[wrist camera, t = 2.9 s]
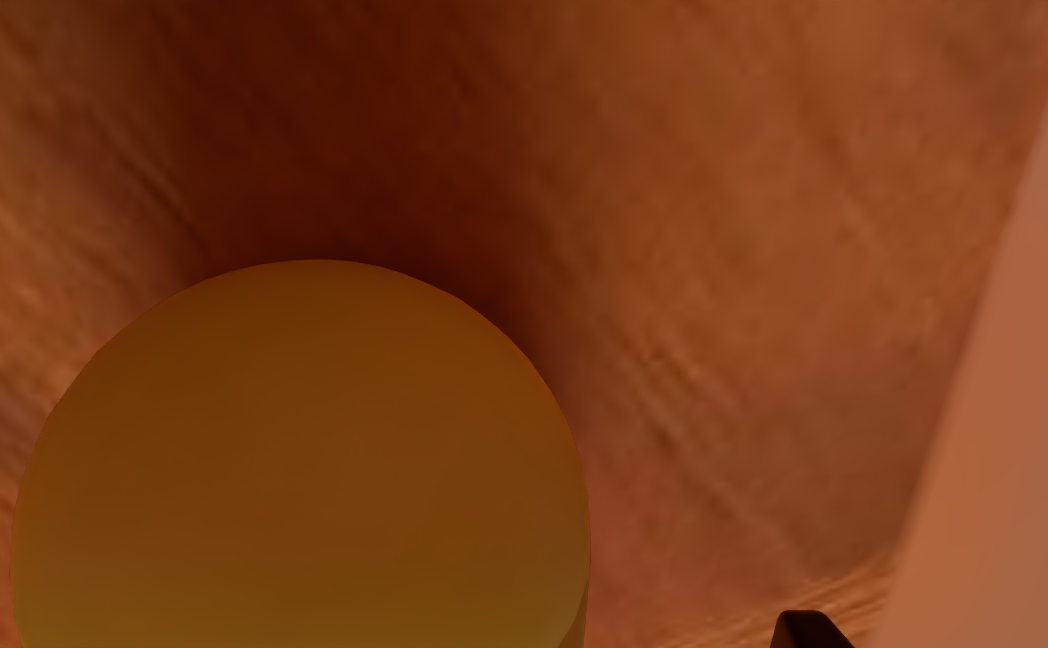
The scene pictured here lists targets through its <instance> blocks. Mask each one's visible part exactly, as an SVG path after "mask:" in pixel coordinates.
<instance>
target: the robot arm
mask: <svg viewBox="0 0 1048 648" xmlns="http://www.w3.org/2000/svg"><path fill="white" fill-rule="evenodd" d="M770 648H854V646H853V645H852V644H851V643H850V642H849V641H848V639H847V638H846V637H845V636H844V635H843V634H842V633H841V631H840V630H839V629H838V628H837V627H836V626H835V625H834V623H833V622H832V621H831V620H830V619H829V618H828V617H827V616H826V615H825V614H823V613H822V612H820V611H815V610H786V611H783V612H782V613H781V614H780V615H779V617H778V619H777V622H776V626H775V630H774V634H773V638H772V642H771V646H770Z"/></svg>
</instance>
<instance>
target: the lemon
mask: <svg viewBox="0 0 1048 648" xmlns="http://www.w3.org/2000/svg"><path fill="white" fill-rule="evenodd" d="M590 563H591V531H590V514H589V496H588V491H587V487H586V482H585V478H584V474H583V469H582V465H581V461H580V457H579V454H578V451H577V448H576V445H575V442H574V439H573V437H572V434H571V431H570V428H569V425H568V422H567V420H566V418H565V416H564V414H563V413H562V411H561V409H560V407H559V405H558V403H557V401H556V400H555V398H554V396H553V394H552V392H551V391H550V389H549V388H548V386H547V385H546V383H545V382H544V380H543V379H542V377H541V376H540V375H539V373H538V372H537V370H536V369H535V367H534V366H533V364H532V363H531V361H530V360H529V359H528V358H527V357H526V356H525V355H524V353H523V352H522V351H521V350H520V349H519V348H518V347H517V346H516V345H515V344H514V343H513V341H512V340H511V339H510V338H509V337H508V336H506V335H505V334H504V333H503V332H502V331H500V330H499V329H498V328H497V327H496V326H494V325H493V324H492V323H491V322H490V321H489V320H487V319H486V318H485V317H484V316H483V315H481V314H480V313H479V312H477V311H476V310H474V309H473V308H472V307H470V306H469V305H467V304H466V303H465V302H463V301H462V300H460V299H459V298H457V297H455V296H453V295H451V294H449V293H447V292H445V291H443V290H440V289H438V288H436V287H434V286H432V285H430V284H427V283H425V282H422V281H420V280H418V279H415V278H413V277H410V276H408V275H405V274H403V273H400V272H396V271H393V270H390V269H386V268H383V267H380V266H376V265H370V264H364V263H358V262H352V261H340V260H323V259H317V260H291V261H283V262H276V263H268V264H261V265H256V266H252V267H248V268H243V269H239V270H235V271H231V272H227V273H224V274H221V275H219V276H216V277H213V278H210V279H207V280H204V281H201V282H199V283H197V284H195V285H192V286H190V287H188V288H186V289H184V290H182V291H180V292H178V293H175V294H173V295H172V296H170V297H169V298H167V299H166V300H164V301H162V302H161V303H159V304H158V305H156V306H155V307H153V308H151V309H150V310H148V311H147V312H146V313H144V314H143V315H142V316H140V317H139V318H138V319H136V320H135V321H133V322H132V323H131V324H129V325H128V326H127V327H125V328H124V329H122V330H121V331H120V332H119V333H118V334H117V335H115V336H114V337H113V338H112V339H111V340H110V341H109V342H107V343H106V344H105V345H104V346H103V347H102V348H101V349H99V350H98V351H97V352H96V353H95V354H94V356H93V357H92V358H91V360H90V361H89V362H88V363H87V365H86V366H85V367H84V368H83V370H82V371H81V372H80V373H79V375H78V376H77V377H76V379H75V380H74V381H73V383H72V384H71V385H70V387H69V388H68V389H67V391H66V392H65V394H64V395H63V396H62V398H61V399H60V400H59V402H58V403H57V404H56V406H55V407H54V409H53V410H52V411H51V413H50V415H49V417H48V419H47V421H46V423H45V425H44V427H43V429H42V431H41V433H40V435H39V438H38V440H37V442H36V444H35V446H34V449H33V452H32V454H31V457H30V460H29V463H28V465H27V468H26V471H25V473H24V476H23V479H22V482H21V484H20V487H19V491H18V496H17V502H16V508H15V513H14V519H13V524H12V533H11V550H10V567H9V578H10V586H11V594H12V602H13V610H14V618H15V622H16V626H17V630H18V634H19V638H20V641H21V645H22V648H583V647H584V635H585V623H586V611H587V599H588V587H589V575H590Z"/></svg>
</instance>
